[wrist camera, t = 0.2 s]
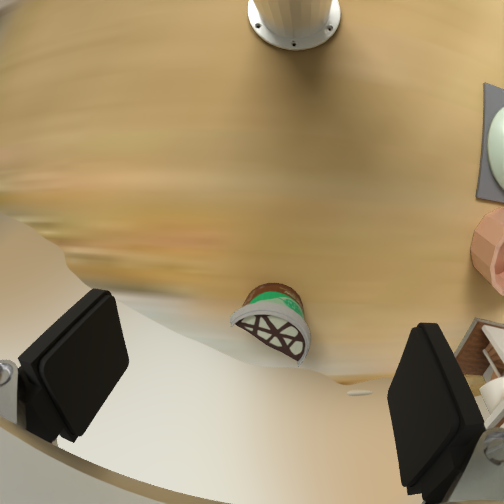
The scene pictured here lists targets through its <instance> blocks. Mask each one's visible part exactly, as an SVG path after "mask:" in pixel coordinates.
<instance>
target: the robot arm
mask: <svg viewBox="0 0 504 504" xmlns="http://www.w3.org/2000/svg"><path fill="white" fill-rule="evenodd" d="M247 12H248V18H249V21H250V24H251V26H252V28H253V29H254V31H255V32H256V33H257V35H258V36H260V37H261V38H262V39H263V40H264V41H266V42H267V43H269V44H271V45H273V46H276V47H278V48H282V49H286V50H296V51H297V50H307V49H311V48H314V47H317V46H319V45H321V44H323V43H324V42H326V41H327V40H329V38H330V37H331V36H332V35H333V34H334V33H335V31H336V30H337V28H338V25H339V22H340V17H341V11H340V6H339V2H338V0H249V2H248V8H247ZM258 26H260V27H261V28H257V27H258ZM328 29H331V31H329V30H328ZM292 44H296V46H292ZM18 359H19V361H20V364H21V367H19V368H17V366H16V364H15V363H14V362H12V361H9V360H0V504H229V503H224V502H218V501H213V500H208V499H204V498H199V497H195V496H191V495H186V494H182V493H178V492H174V491H171V490H167V489H164V488H160V487H157V486H154V485H151V484H147V483H144V482H141V481H138V480H135V479H132V478H130V477H127V476H124V475H121V474H119V473H116V472H113V471H111V470H108V469H105V468H103V467H101V466H98V465H96V464H93V463H91V462H89V461H87V460H84V459H82V458H80V457H78V456H75V455H73V454H71V453H69V452H67V451H65V450H63V449H61V448H59V447H58V445H57V436H58V435H59V434H60V436H61V437H63V438H65V439H67V440H69V441H71V442H73V443H74V442H75V440H76V439H77V437H78V436H82V435H83V434H84V432H85V431H86V429H87V428H88V426H89V425H90V423H91V422H92V420H93V419H94V417H95V415H96V414H97V412H98V411H99V409H100V408H101V406H102V405H103V403H104V402H105V400H106V399H107V397H108V395H109V394H110V393H111V391H112V390H113V388H114V387H115V385H116V384H117V382H118V381H119V379H120V378H121V376H122V375H123V373H124V372H125V371H126V369H127V367H128V364H129V357H128V353H127V349H126V345H125V341H124V337H123V333H122V328H121V324H120V319H119V315H118V311H117V306H116V301H115V298H114V297H113V296H112V295H111V293H110V292H109V291H106V290H101V289H92V290H90V291H89V292H88V293H87V294H86V295H85V296H84V297H82V298H81V299H80V300H79V301H78V302H77V303H76V304H75V305H74V306H72V307H71V308H70V309H69V310H68V311H67V312H66V313H65V314H64V315H62V317H60V318H59V319H58V320H57V321H56V322H55V323H54V324H53V325H52V326H51V327H49V328H48V329H47V330H46V331H45V332H44V333H43V334H42V335H41V336H40V337H39V338H38V339H37V340H36V341H35V342H34V343H33V344H32V345H31V346H30V347H28V349H26V351H24V352H23V353H22V354H21V355H20V356H19V357H18ZM387 399H388V405H389V410H390V415H391V420H392V426H393V431H394V437H395V443H396V449H397V455H398V461H399V469H400V476H401V483H402V485H403V486H404V487H407V493H408V495H413V494H420V493H422V498H423V500H424V501H423V502H422V504H504V428H501V427H493V428H490V429H487V430H486V428H485V426H484V423H485V422H484V420H483V417H482V415H481V412H480V410H479V408H478V405H477V403H476V401H475V398H474V396H473V394H472V392H471V389H470V387H469V385H468V383H467V381H466V379H465V377H464V374H463V372H462V370H461V368H460V366H459V364H458V362H457V360H456V358H455V356H454V354H453V352H452V350H451V348H450V346H449V344H448V342H447V340H446V339H445V337H444V335H443V333H442V331H441V329H440V327H439V325H438V324H436V323H419V324H418V325H417V327H414V328H412V330H411V332H410V335H409V338H408V341H407V344H406V347H405V349H404V352H403V355H402V357H401V360H400V363H399V365H398V368H397V370H396V373H395V376H394V378H393V381H392V383H391V385H390V388H389V390H388V397H387Z"/></svg>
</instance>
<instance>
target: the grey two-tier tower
mask: <svg viewBox="0 0 504 504" xmlns="http://www.w3.org/2000/svg"><path fill="white" fill-rule="evenodd" d="M454 356H455V358H456V360H457V362H458V364H459V366H460V368H461V370H462V372H463V373H465V374H474V375H483V377H484V379H485V381H486V384H484V385H483V386H482V387H480V389H479V391H480V393H481V395H482V397H483V399H484V402H485V404H486V406H487V408H488V411H489V413H490V416H489V417H488V418H487V419H486V420H485V423H484V426H485V428H486V430H487V429H490V428H493V427H501V428H504V324H500V323H495V322H491V321H487V320H483V319H479V318H475V319H474V321H473V323H472V324H471V326H470V328H469V330H468V331H467V333H466V335H465V336H464V338H463V340H462V342H461V343H460V345H459V346H458V348H457V350H456V351H455V353H454Z"/></svg>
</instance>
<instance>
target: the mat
mask: <svg viewBox="0 0 504 504" xmlns="http://www.w3.org/2000/svg"><path fill="white" fill-rule="evenodd" d="M483 84H484V111H483V135H482V149H481V160H480V169H479V177H478V185H477V192H476V197H477V198H482V199H487V200H492V201H497V202H502V203H504V190H503V189H502V188H501V187H500V186H499V184H498V183H497V182H496V180H495V178H494V176H493V174H492V172H491V169H490V166H489V162H488V157H487V147H486V145H487V133H488V129H489V125H490V123H491V120H492V118H493V117H494V115H495V114H496V112H497V111H498V110H499V109H501V108H502V107H503V106H504V89H501V88H499V87H496V86H493V85H490V84H488V83H483Z"/></svg>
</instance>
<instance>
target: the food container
mask: <svg viewBox="0 0 504 504" xmlns="http://www.w3.org/2000/svg"><path fill="white" fill-rule="evenodd" d="M230 323H231V327H232V326H233V325H234V324H236V325H237V326H238V327H241V328H243V329H244V330H246V331H248V332H249V333H251V334H252V335H254V336H255V337H256V338H258V339H259V340H260V341H262V342H263V343H265V344H266V345H268V346H270V347H272V348H274V349H276V350H278V351H281V352H283V353H284V354H286V355H288V356H289V357H291V358H293V359H295V360H296V361H298V367H299V365H300V364H301V363H302V362H303V361H304V359H305V357H306V355H307V353H308V350H309V347H310V343H311V334H310V330H309V328H308V325H307V324H306V322H305V321H304V313H303V305H302V302H301V299H300V297H299V295H298V294H297V293H296V292H295V291H294V290H293V289H292V288H290V287H288V286H286V285H283V284H279V283H267V284H263V285H261V286H258V287H257V288H255V289H254V290H253V291H252V292H251V293H250V294H249V295H248V297H247V299H246V300H245V302H244V304H243V306H242V307H241V308H240V309H238V310H237V311H236V312H234V313H233V314H232V315H231V318H230Z"/></svg>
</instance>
